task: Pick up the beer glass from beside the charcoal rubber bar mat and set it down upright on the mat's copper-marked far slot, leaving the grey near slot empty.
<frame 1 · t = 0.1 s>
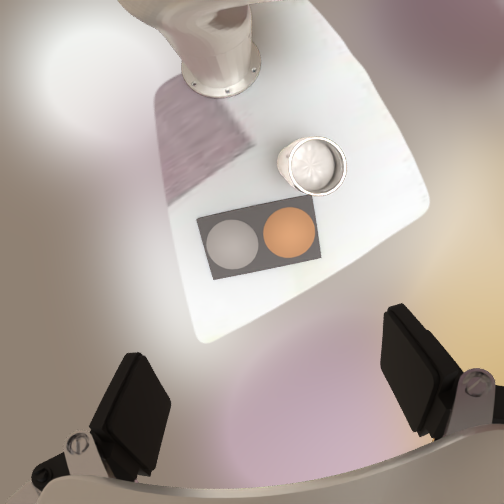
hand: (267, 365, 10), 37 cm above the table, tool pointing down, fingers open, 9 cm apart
beer glass: (295, 162, 42), on the table
bar mat: (260, 237, 46), on the table
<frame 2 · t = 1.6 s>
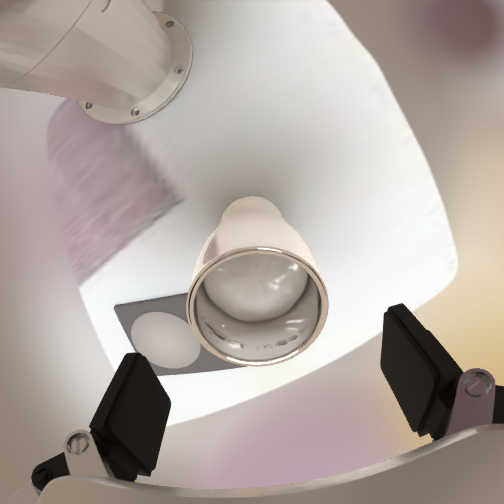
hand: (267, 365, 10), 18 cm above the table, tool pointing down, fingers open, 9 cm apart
beer glass: (252, 226, 27), on the table
bar mat: (203, 333, 31), on the table
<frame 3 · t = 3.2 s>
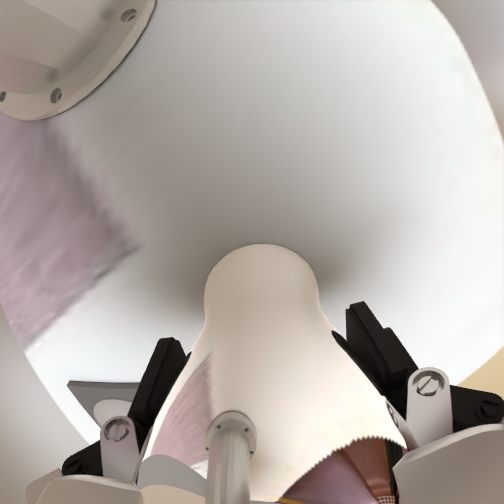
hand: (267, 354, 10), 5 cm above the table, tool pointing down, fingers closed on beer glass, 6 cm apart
beer glass: (261, 295, 15), on the table, touching gripper
bar mat: (190, 425, 19), on the table
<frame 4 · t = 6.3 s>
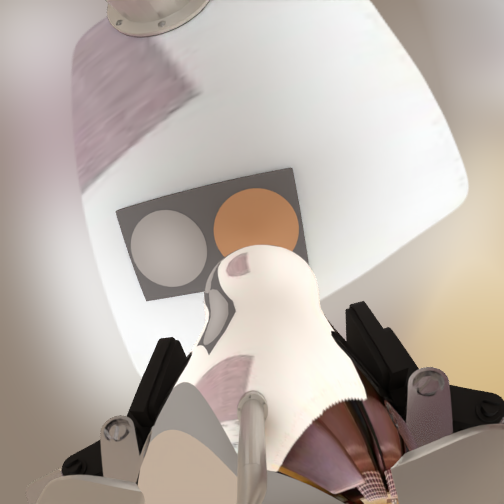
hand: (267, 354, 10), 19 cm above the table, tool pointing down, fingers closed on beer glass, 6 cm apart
beer glass: (261, 296, 15), point 14 cm above the table, touching gripper
bar mat: (211, 238, 29), on the table
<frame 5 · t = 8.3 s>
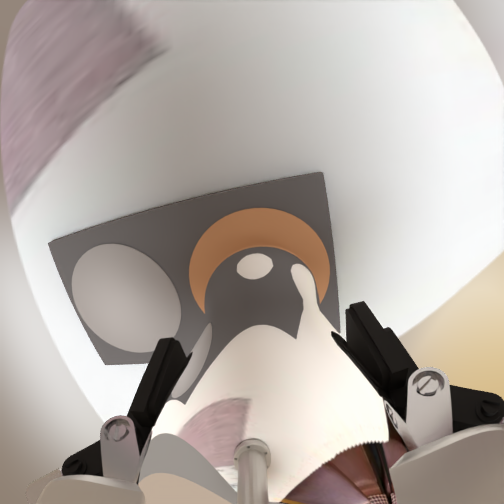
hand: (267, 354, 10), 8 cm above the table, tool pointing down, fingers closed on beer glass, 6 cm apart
beer glass: (261, 296, 15), point 3 cm above the table, touching gripper
bar mat: (186, 288, 18), on the table
when the fingers open (6 cm above the table, at t = 9.6 s): beer glass stays where it is, resting on bar mat.
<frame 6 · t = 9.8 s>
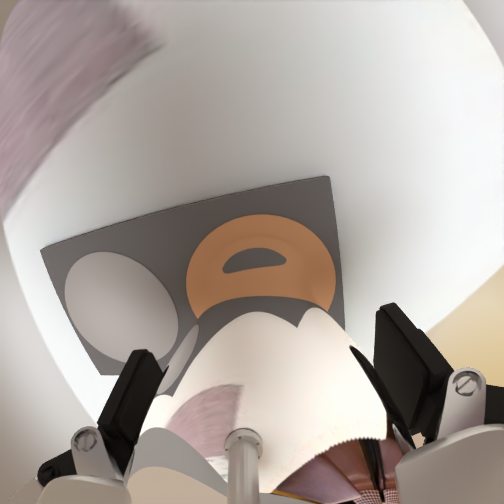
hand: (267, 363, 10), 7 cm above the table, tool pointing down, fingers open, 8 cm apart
beer glass: (259, 285, 16), point 1 cm above the table, touching bar mat
bar mat: (184, 298, 17), on the table
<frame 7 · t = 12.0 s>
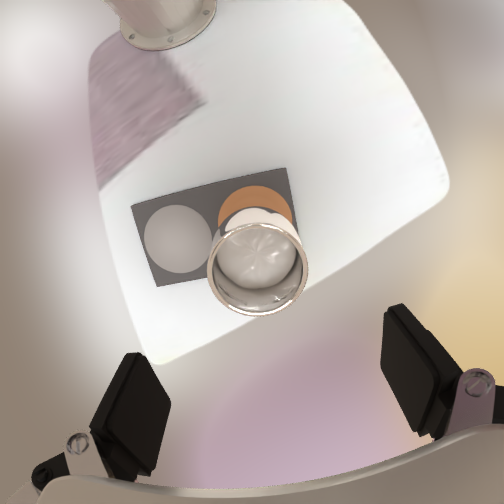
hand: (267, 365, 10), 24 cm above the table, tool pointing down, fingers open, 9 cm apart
beer glass: (254, 220, 32), point 1 cm above the table, touching bar mat
bar mat: (215, 230, 33), on the table
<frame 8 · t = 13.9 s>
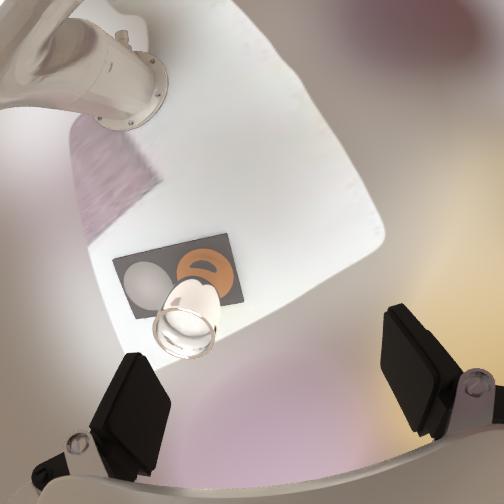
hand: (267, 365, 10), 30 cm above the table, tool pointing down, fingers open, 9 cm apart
beer glass: (203, 274, 41), point 1 cm above the table, touching bar mat
bar mat: (176, 279, 42), on the table
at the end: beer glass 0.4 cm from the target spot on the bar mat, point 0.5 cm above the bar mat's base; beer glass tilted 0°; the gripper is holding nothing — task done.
